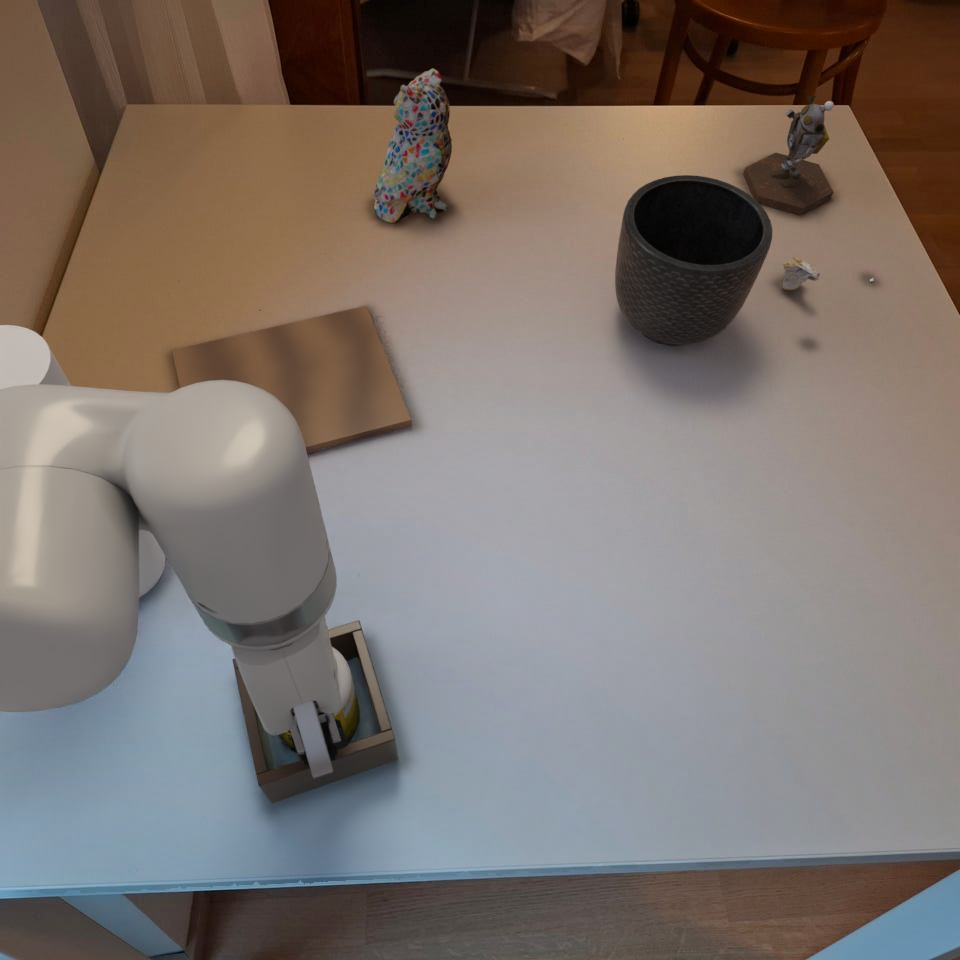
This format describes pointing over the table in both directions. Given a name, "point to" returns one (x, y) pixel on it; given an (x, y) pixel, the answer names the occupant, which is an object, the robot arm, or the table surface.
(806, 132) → the robot figurine
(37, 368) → the cylindrical container
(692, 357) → the table surface
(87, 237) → the table surface
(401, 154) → the figurine
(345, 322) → the board
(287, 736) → the pill bottle
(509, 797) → the table surface
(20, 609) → the robot arm
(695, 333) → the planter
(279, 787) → the holder
